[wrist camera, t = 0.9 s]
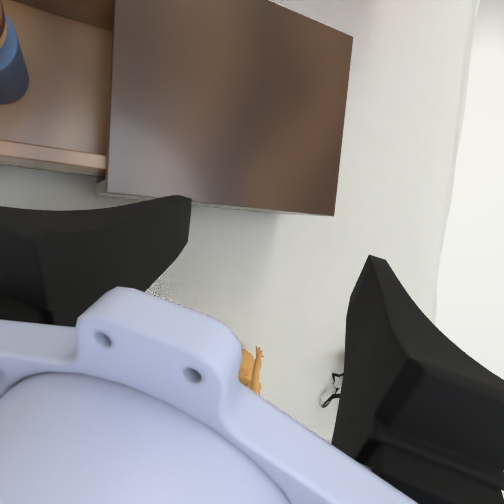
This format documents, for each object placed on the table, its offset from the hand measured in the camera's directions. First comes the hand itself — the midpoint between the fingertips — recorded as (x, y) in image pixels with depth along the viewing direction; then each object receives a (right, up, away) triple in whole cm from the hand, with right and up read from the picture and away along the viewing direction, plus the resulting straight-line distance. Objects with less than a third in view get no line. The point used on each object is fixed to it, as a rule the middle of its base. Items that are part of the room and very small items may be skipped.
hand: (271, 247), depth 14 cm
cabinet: (-5, +10, +14) cm, 18 cm away
